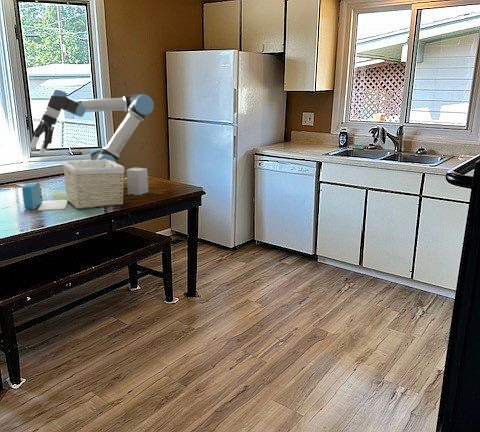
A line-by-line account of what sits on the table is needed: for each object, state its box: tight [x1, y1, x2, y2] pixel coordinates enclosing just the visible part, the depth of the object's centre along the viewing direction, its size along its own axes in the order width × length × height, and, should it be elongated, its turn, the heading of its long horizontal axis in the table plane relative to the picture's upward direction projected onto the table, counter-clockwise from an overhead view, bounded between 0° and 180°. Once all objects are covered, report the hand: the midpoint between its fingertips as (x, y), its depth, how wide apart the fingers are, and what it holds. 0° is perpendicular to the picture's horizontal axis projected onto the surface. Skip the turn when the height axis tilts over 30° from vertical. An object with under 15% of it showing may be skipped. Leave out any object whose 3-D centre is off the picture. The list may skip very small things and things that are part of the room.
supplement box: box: [126, 167, 149, 196], centre depth 262 cm, size 9×9×15 cm
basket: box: [62, 159, 125, 209], centre depth 240 cm, size 27×27×22 cm
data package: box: [21, 182, 42, 210], centre depth 231 cm, size 12×4×12 cm, turn 5°
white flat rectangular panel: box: [37, 199, 69, 212], centre depth 235 cm, size 13×18×1 cm
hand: (36, 150), depth 250 cm, fingers open, 13 cm apart
